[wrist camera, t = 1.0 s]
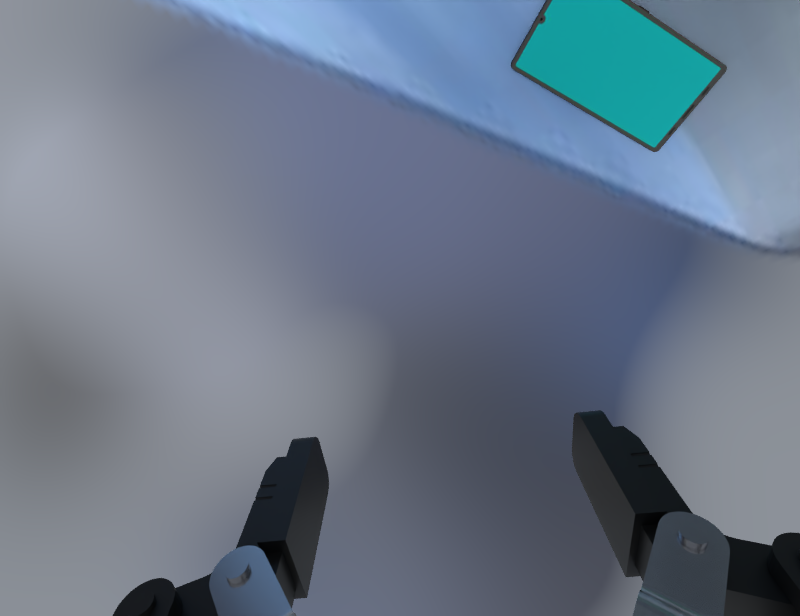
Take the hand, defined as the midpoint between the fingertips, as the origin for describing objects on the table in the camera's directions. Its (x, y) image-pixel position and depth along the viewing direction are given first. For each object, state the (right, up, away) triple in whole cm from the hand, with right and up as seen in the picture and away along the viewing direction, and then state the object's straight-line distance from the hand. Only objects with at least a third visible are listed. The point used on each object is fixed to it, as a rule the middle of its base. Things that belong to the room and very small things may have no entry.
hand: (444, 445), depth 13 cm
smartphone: (+16, +24, +20) cm, 35 cm away
